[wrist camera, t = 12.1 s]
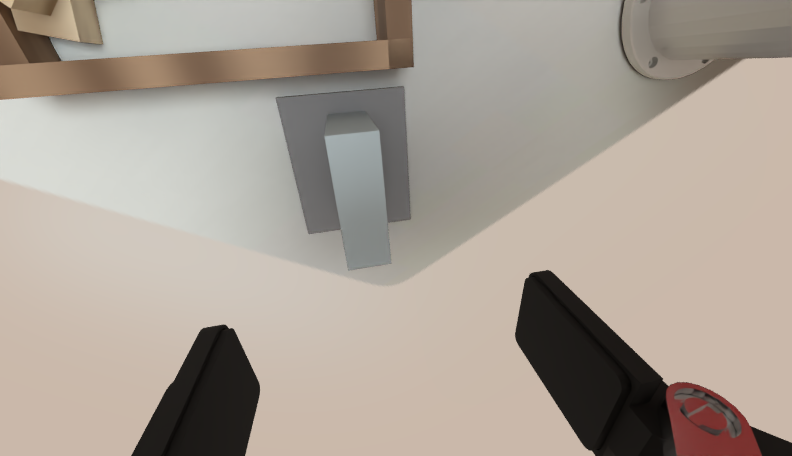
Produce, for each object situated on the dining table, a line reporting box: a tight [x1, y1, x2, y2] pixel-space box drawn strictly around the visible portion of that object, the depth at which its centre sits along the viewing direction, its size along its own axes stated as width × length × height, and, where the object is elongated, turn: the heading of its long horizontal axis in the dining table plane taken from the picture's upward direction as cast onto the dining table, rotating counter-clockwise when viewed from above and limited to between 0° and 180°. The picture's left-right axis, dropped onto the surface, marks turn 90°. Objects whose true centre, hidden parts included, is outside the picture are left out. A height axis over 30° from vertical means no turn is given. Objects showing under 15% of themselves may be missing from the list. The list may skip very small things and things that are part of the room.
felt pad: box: [276, 86, 411, 234], centre depth 26 cm, size 10×12×1 cm
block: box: [324, 111, 391, 271], centre depth 22 cm, size 3×9×9 cm, turn 5°
